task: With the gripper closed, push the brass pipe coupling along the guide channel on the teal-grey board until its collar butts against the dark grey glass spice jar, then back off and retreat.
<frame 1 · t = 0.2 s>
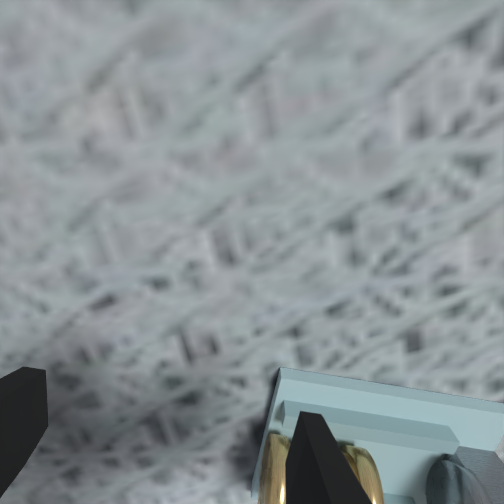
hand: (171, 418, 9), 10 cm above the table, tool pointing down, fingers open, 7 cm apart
glass spice jar: (422, 455, 22), resting on board
coupling: (308, 450, 21), point 1 cm above the table, touching board
board: (368, 446, 22), on the table
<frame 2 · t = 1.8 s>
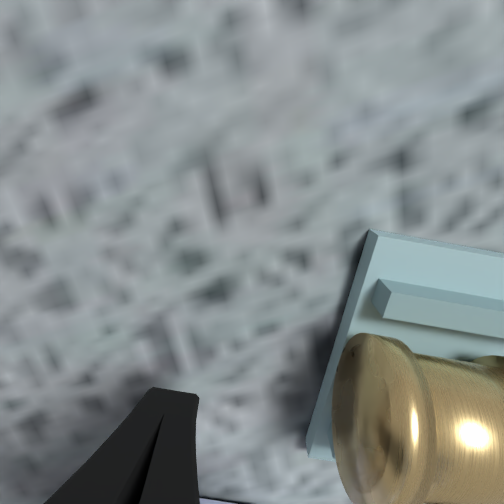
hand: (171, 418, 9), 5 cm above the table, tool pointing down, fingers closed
coupling: (408, 372, 13), point 1 cm above the table, touching board
board: (494, 373, 14), on the table
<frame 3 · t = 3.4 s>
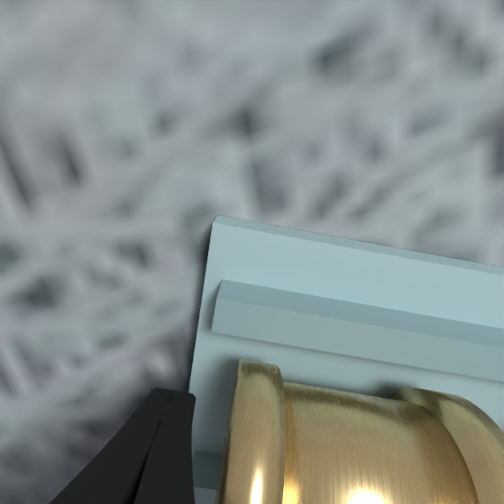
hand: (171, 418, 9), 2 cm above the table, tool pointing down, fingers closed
coupling: (321, 404, 10), point 1 cm above the table, touching gripper
board: (398, 397, 11), on the table
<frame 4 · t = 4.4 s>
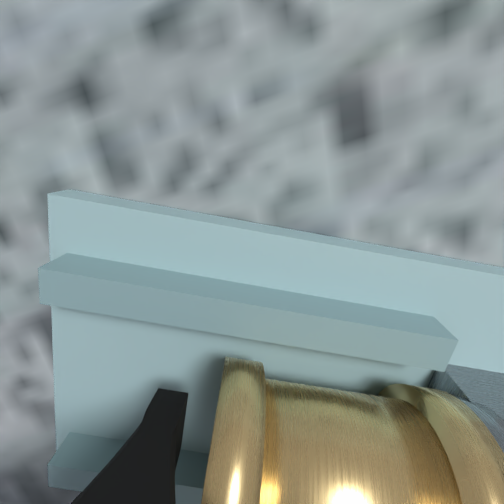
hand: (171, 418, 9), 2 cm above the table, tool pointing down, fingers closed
glass spice jar: (386, 395, 11), resting on board
coupling: (309, 402, 10), point 1 cm above the table, touching gripper, glass spice jar
board: (278, 378, 11), on the table
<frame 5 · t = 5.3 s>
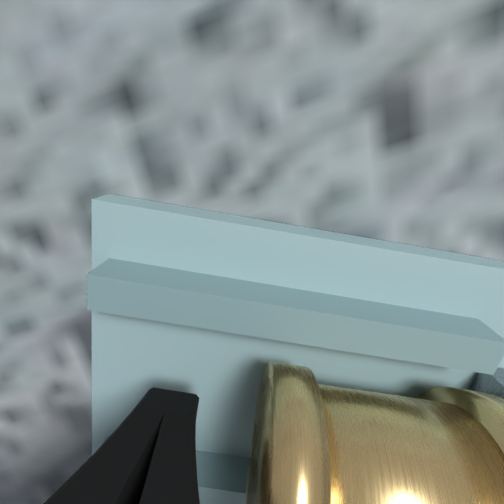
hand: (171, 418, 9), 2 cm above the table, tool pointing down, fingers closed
glass spice jar: (422, 398, 11), resting on board
coupling: (348, 405, 10), point 1 cm above the table, touching board, glass spice jar
board: (314, 381, 11), on the table
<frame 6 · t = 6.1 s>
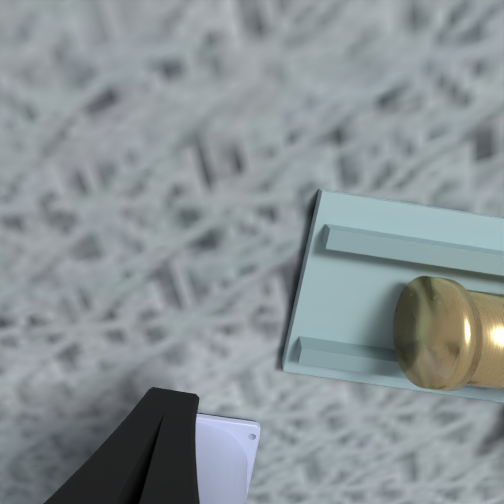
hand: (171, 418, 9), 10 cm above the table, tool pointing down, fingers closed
coupling: (449, 310, 17), point 1 cm above the table, touching board, glass spice jar
board: (423, 301, 18), on the table
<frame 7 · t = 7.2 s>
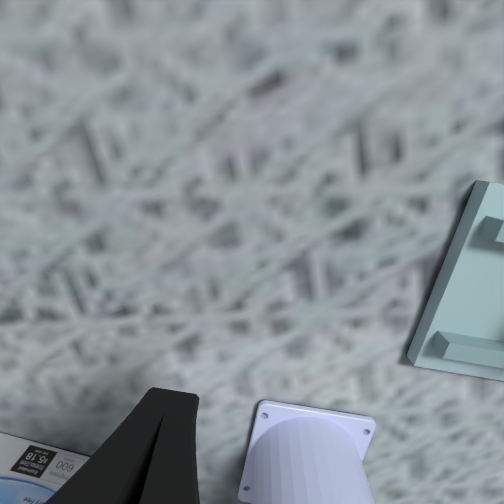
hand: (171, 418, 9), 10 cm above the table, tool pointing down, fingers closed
light bulb box: (22, 464, 24), on the table
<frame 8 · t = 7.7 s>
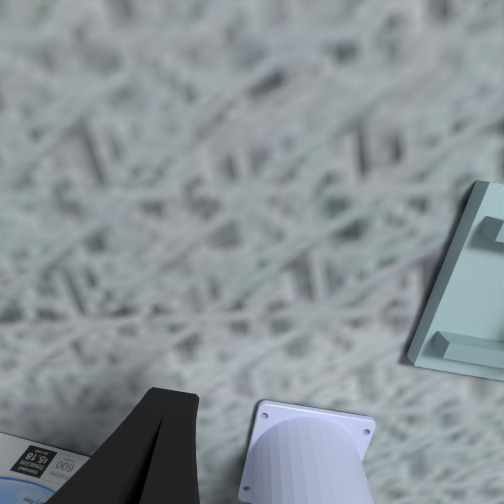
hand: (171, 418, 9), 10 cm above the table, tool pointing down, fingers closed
light bulb box: (22, 464, 24), on the table
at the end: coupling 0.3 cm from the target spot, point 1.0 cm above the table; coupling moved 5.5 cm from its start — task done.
